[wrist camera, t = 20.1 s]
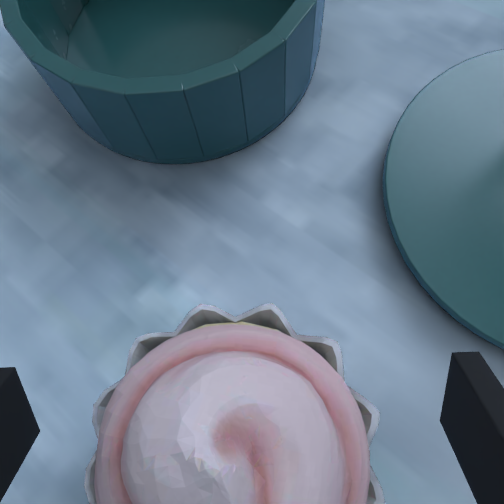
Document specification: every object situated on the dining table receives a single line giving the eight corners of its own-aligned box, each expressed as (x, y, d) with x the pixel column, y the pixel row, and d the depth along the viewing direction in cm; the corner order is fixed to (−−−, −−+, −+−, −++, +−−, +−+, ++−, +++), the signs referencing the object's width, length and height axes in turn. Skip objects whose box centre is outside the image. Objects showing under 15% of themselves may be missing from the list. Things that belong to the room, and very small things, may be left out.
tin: (42, 172, 22) (-30, 105, 17) (70, -38, 27) (20, -142, 22) (328, 155, 22) (343, 80, 17) (307, -58, 26) (314, -169, 21)
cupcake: (392, 535, 17) (543, 721, 7) (151, 597, 16) (-25, 872, 7) (322, 299, 20) (363, 208, 10) (118, 350, 19) (-37, 305, 10)
